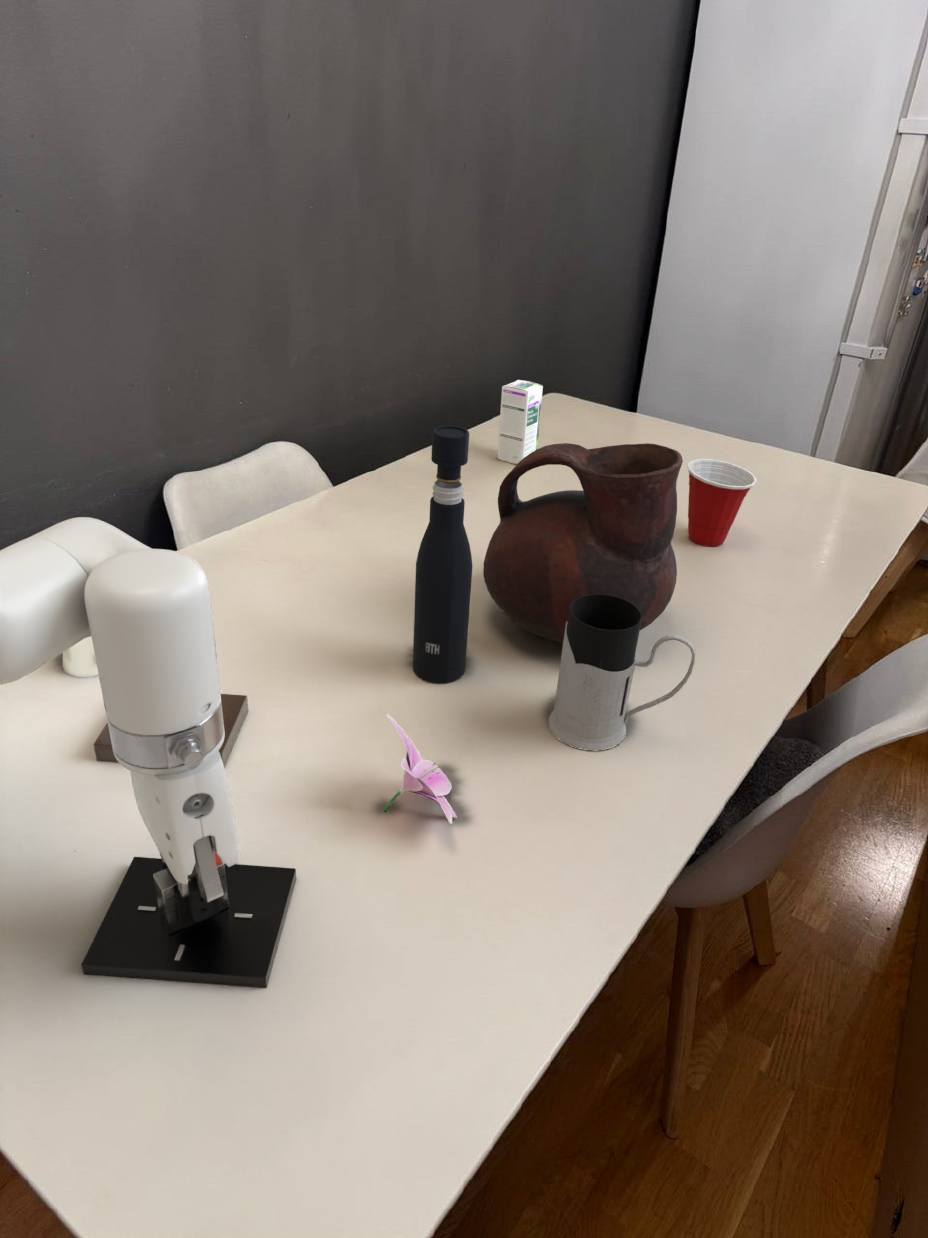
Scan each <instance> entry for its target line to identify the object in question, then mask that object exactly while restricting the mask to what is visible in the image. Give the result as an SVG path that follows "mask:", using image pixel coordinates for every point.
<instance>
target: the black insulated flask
mask: <svg viewBox="0 0 928 1238" xmlns="http://www.w3.org/2000/svg"><path fill="white" fill-rule="evenodd" d="M431 433H432V434H431V435H432V436H431V457H430V458H431V462H432V463H433V464H435V465H437V466H436V467H437V470H436V475H435V477H436V480H435V481H434V484H433V486H432V490H433V491H432V496H431V497H430V500H429V519H428V520H429V521H428V524H427V527H426V529H425V531H424V534H423V536H422V539H421V541H420V544H419V548H418V551H417V556H416V561H415V581H414V610H413V611H414V613H413V618H414V619H413V640H412V641H413V645H412V671H413V673H414V675H415V676H416V677H417V678H418V679H421V680H422V681H424V682H427V683H430V684H437V685H441V684H443V685H444V684H450V683H454V682H456V681H458V680H460V679H461V678H462V677H463V676H464V675H465V672H466V666H467V665H466V664H467V653H468V652H467V651H468V636H469V621H470V608H471V594H472V592H471V591H472V577H473V557H472V550H471V544H470V541H469V538H468V534H467V530H466V528H465V524H464V521H465V519H464V518H465V506H466V505H465V504H466V501H465V499H464V498H463V497H464V493H463V492H464V486H463V483H462V481H461V480H462V476H461V474H462V473H461V472H462V466H465V465H466V464H468V461H469V450H470V449H469V448H470V447H469V446H470V432H469V430H468V429H467V428H464V427H462V426H458V425H441V426H436V427H435V428H433V429H432V432H431Z"/></svg>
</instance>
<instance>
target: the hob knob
mask: <svg viewBox="0 0 928 1238" xmlns="http://www.w3.org/2000/svg"><path fill="white" fill-rule="evenodd" d="M214 853H215V861H216V865H217V869H218V873H219V877H220V881H221V885H222V889H223V893H224V896H223V897H221V898H220V906H221V910H220V911H222V910H224V909H226V908H228V907H229V900H228V892H227V883H226V874H225V866H224V861H223V860H222V859H221V858H220V857H219V856H218V854H217V853H216V851H214ZM194 875H197V871H196V869H195V870H193V871H192V874H191V875H189V877H192V876H194ZM153 878H154V884H155V890H156V895H157V901H158V907H159V912H160V918H161V920H162V922H163V924H164V926H165V928H166V929H167V931H168V933H169V934H172V933H174V932H176V931H179V930H181V929H183V928H182V926H181V925H180V923H179V918H178V912H177V906H176V899H175V893H174V889H176V888H178V884H177V881H176V880H175V878H174V877H173V875H172V873H171V871H170V870H169V868H166V869H164V870H162V871H159V872H157V873H155V874H153Z"/></svg>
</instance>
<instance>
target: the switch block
mask: <svg viewBox="0 0 928 1238" xmlns="http://www.w3.org/2000/svg"><path fill="white" fill-rule="evenodd" d="M248 702H249V701H248V695H245V694H231V693H221V703H222V712H223V722H224V730H225V738H224V742H223V744H222V746H221V748H220V749H219V753H220V756H221V759H222V762H223V765H224V768H225V767H226V765H227V763H228V761H229V758H230V756H231V753H232V751H233V748H234V747H235V745H236V741H237V739H238V737H239V735H240V732H241V730H242V728H243V725H244V722H245V720H246V718H247V716H248V713H249V703H248ZM93 749H94V754H95V759H96V761H97V762H107V763H119V762H118V761H117V760H116V758H115V756H114V753H113V748H112V743H111V737H110V732H109V727H108V721H107V722H106V724H105V725H104V727H103V729H102V730H101V731H100V733H99V735H98V736H97V738H96V739H95V741H94V742H93ZM225 769H226V768H225Z"/></svg>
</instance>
